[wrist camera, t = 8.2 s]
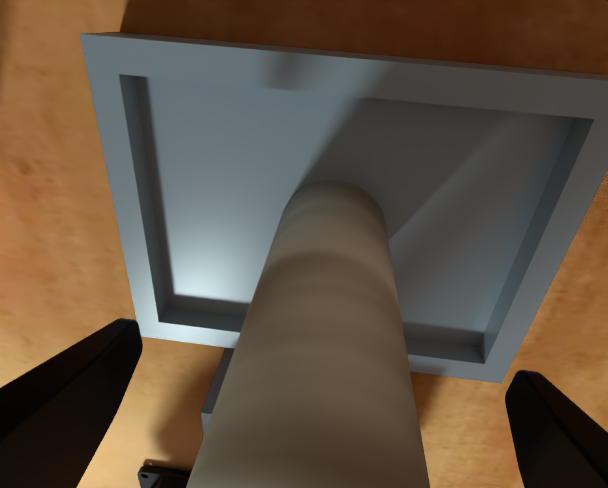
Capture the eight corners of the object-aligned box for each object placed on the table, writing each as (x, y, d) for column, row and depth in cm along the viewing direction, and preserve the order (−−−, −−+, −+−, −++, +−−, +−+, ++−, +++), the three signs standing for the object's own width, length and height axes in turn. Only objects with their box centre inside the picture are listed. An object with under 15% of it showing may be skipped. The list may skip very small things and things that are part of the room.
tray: (485, 346, 18) (501, 383, 16) (160, 304, 19) (139, 336, 17) (603, 74, 12) (649, 84, 10) (118, 31, 13) (79, 33, 11)
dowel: (375, 278, 16) (407, 595, 7) (278, 267, 16) (193, 560, 7) (394, 186, 14) (470, 474, 5) (282, 174, 14) (170, 430, 5)
